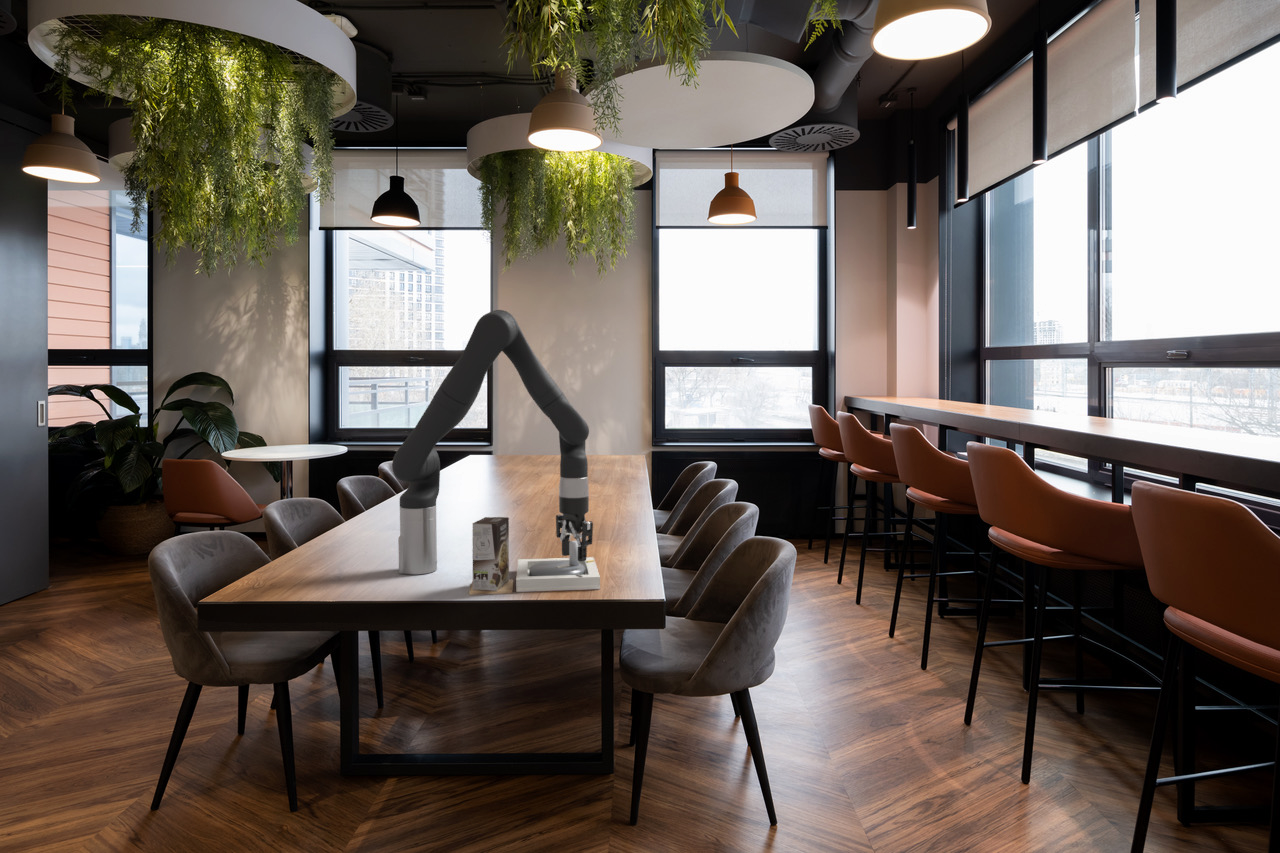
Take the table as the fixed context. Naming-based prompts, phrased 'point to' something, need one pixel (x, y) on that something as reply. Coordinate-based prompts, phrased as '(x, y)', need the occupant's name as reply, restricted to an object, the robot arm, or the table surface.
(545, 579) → the white square tray
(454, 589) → the table surface
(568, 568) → the dial
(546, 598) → the table surface
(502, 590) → the coaster
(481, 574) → the coffee box
